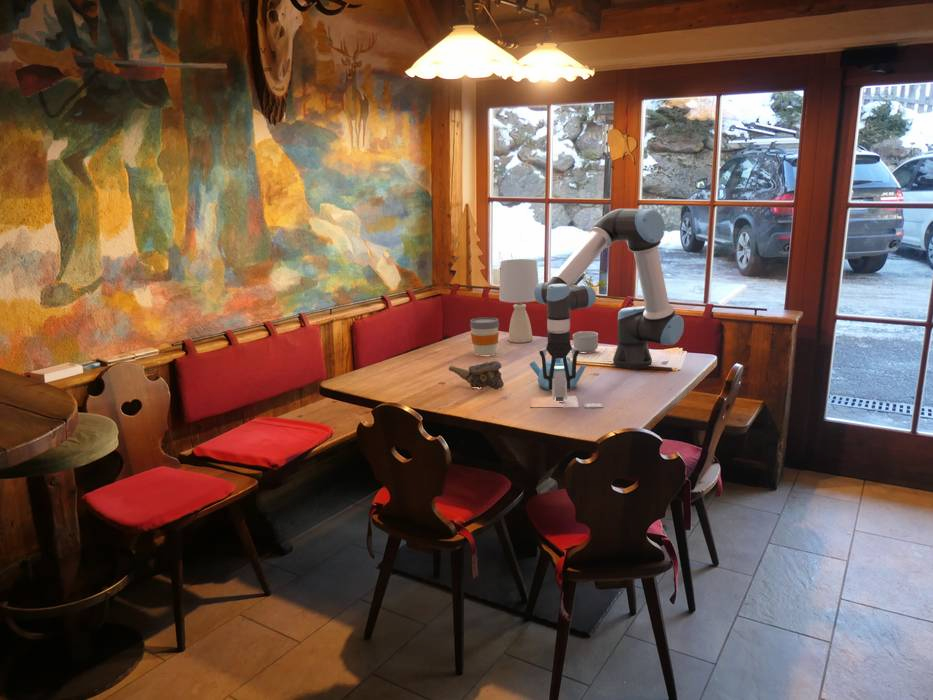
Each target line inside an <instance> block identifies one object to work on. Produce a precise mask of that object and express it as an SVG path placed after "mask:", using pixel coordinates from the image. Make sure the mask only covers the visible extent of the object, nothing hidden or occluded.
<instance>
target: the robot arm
mask: <svg viewBox="0 0 933 700" xmlns="http://www.w3.org/2000/svg"><path fill="white" fill-rule="evenodd" d="M665 228H666V224H665V221H664V218H663V216H662V214H661V213H660V212H659V211H658V210H655V209H651V208H650V209H649V208H645V207H644V208H617V209H614V210H611V211H610V212H608V213H606V214H605V215H603V216H602V217H601V218H599V219H598V220H597V221H596V222H595V223H594V224H593V225H592V227H591V228H590V229H589V230H588V235H587V236H586V237H585V239H584V240H583V241H582V242H581V243H580V244H579V245H578V246H577V248H575V250H574V251H573V253H571V255H570V256H569V257H568V258H567V259H566V260H565V261H564V263H563V264H562V265H561V267H559V269H558V270H557V271H556V272H555V273H554V274H553V275H552V276H551V278H550V279H549V280H548V281H547V282H546V281H545V282H540V283H539V284H538V285H537V286H536V288H535V291H534V296H535V299H536V302H537V303H539V304H542V305H545V306H546V312H547V314H546V316H547V317H546V319H547V321H546V327H547V335H546V336H547V344H546V346H545V348H543V349H539V352H538V353H539V355H540V357H541V365H542V366H541V368H543V378H544V379H547V380H548V381H549V390H548V391H551V397H552V399H553V400H555V382H554V379H553V373H554V367H555V361H556V359H557V358H561V359H563V363H564V368H565V373H566V379H565V397H564V398H565V399H567V396H568V390H567V389H569V390H571V389H570V380H571V379H573V378H575V377H576V372H577V363H578V362H577V360H578V355H579V350H578V349H577V348H576V349H575V348H574V347H573V346H572V344H571V331H570V330H571V312H572V311H573V312H574V311H576V310H577V311H578V310H581V309H584V310H585V309H587V308H590V307H592V306H593V305H594V304H595V303H596V301H597V294H596V291H595V289H594V288H593V287H592V286H591V285H586V284H585V285H583V284H582V285H580V286H577V285H576V286H575V284H576V282H578V280H579V279H580V277H582V275H583V274H584V273H585V272H586V271H587V269H589V267H590V266H591V265H592V264H593V262H594V261H595V260H596V259H597V258H598V257H599V255H600V254H601V253H602V252H603V251H604V249H607V248H608V249H609V247H611V246H612V244H613V243H616V242H626V244H627V248H628V251H629V252H632V253H633V255H634V259H635V264H636V269H637V273H638V279H639V282H640V288H641V292H642V296H643V301H644V305H645V306H643V305H642V306H629V307H624V308H621V309H620V310H619V311H618V313H617V347H616V350H615V352H614V356H613V359H612V365H613V366H615V367H616V368H621V369H628V370H638V369H639V370H640V369H646V368H649V367H648V366H649V365H651V364H653V360H652V359H653V358H652V355H651V352H650V349H649V345H648V343H653V344H654V343H655V344H659V345H662V346H664V345H665V346H673V345H675V344H677V343H678V342H679V340H680V339H681V337H682V335H683V333H684V327H685V322H684V317H682V316H681V315H679V314H676V311H675V307H674V305H672V304H670V302H669V298H668V292H667V288H666V282H665V277H664V272H663V268H662V263H661V258H660V253H659V246H660V244H661V240H662V239H663V237H664V236H665V232H664V231H665V230H666V229H665ZM547 352H548V354H549V355H550V356H551V365H550V371H549V375H547V371H546V361H547V360H546V356H547ZM570 352H571V355H572V362H571V364H572V374H571V375H569V370H568V364H567V359H566V357H568V355H569V353H570ZM651 366H652V365H651Z"/></svg>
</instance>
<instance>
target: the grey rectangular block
mask: <svg viewBox="0 0 933 700" xmlns="http://www.w3.org/2000/svg"><path fill="white" fill-rule="evenodd" d="M554 382H555V397H556V401H564V397H565V368H564V366H555V367H554Z"/></svg>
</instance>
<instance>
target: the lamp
mask: <svg viewBox="0 0 933 700" xmlns="http://www.w3.org/2000/svg"><path fill="white" fill-rule="evenodd" d="M499 268H500V271H499V274H500V275H499V291H498V292H499V295H498V297H499V298H498V299H499V301H500V302H505V303H515V304H513V306H512V307H513V308H514V310H513V312H512V315H511V318H510V321H509V322H510V323H509V330H508V338H507V339H508V341H509V342H510V343H513V344H525V343H530V342H532V341H533V332H532V327H531V321H530V318H529V315H528V313H527V312H528V311H527V310H526V307H527V305H526V304H523V303H529V302H530V303H531V302H537V300H536V299H535V296H534V291H535V288H536V286H537V285H538V284H540V283H539V274H538V260H536V259H529V258H525V259H524V258H518V259H516V258H515V259H506V260H501V261H500V267H499Z"/></svg>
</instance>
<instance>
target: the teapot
mask: <svg viewBox="0 0 933 700" xmlns="http://www.w3.org/2000/svg"><path fill="white" fill-rule="evenodd" d="M551 359H552V358H551ZM551 359H548V360H546V371H547V375H549V371H550V365H551ZM566 359H567V364H568V370H569V375H571V374H572V362H571V357H570V356H566ZM529 366H530V368H531V369H532V370H533V372H534V373H535V374H536V376H537V382H538V383H537V384H538V385H539V386H540V387H541V388H542V389H543V388H544V390H546V389H548V390H547V391H550V390H549V381H548V380H547V379H544V378H543V368H542V367H541V368H540V366H539V365H538V364H537V363H536V361H535V360H533V361H532V362H530V363H529ZM555 366H564V363H563V359H561V358H557V359H556V361H555ZM586 367H587V365H583V364H581V365H580V367H578V369H577V370H576V377H575V378H573V379H571V380H570V389H567V391H569V390H572V389H573V388H575V387H576V385H578V382H579V381H580V379H581V377H582V376H583V373H584V371H585V369H586ZM553 379H554V373H553ZM565 379H566V373H565Z"/></svg>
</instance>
